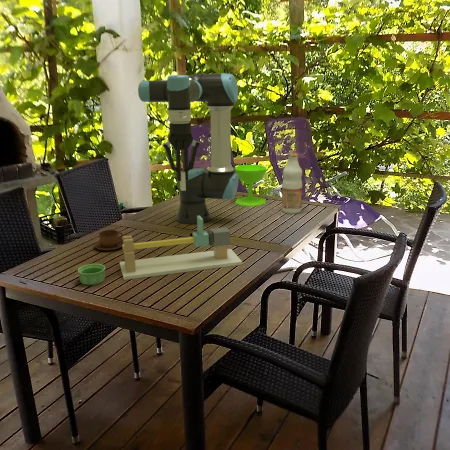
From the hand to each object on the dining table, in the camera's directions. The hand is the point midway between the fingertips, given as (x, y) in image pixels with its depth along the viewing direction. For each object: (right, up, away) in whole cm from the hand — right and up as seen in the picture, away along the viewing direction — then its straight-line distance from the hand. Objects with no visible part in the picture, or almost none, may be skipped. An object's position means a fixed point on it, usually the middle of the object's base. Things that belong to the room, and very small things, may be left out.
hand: (183, 189), depth 180 cm
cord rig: (-1, -27, +3) cm, 27 cm away
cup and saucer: (-31, -22, +22) cm, 44 cm away
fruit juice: (+47, -6, +66) cm, 81 cm away
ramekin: (-30, -31, -9) cm, 44 cm away
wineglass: (+28, -1, +83) cm, 88 cm away
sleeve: (+6, -19, +3) cm, 21 cm away
